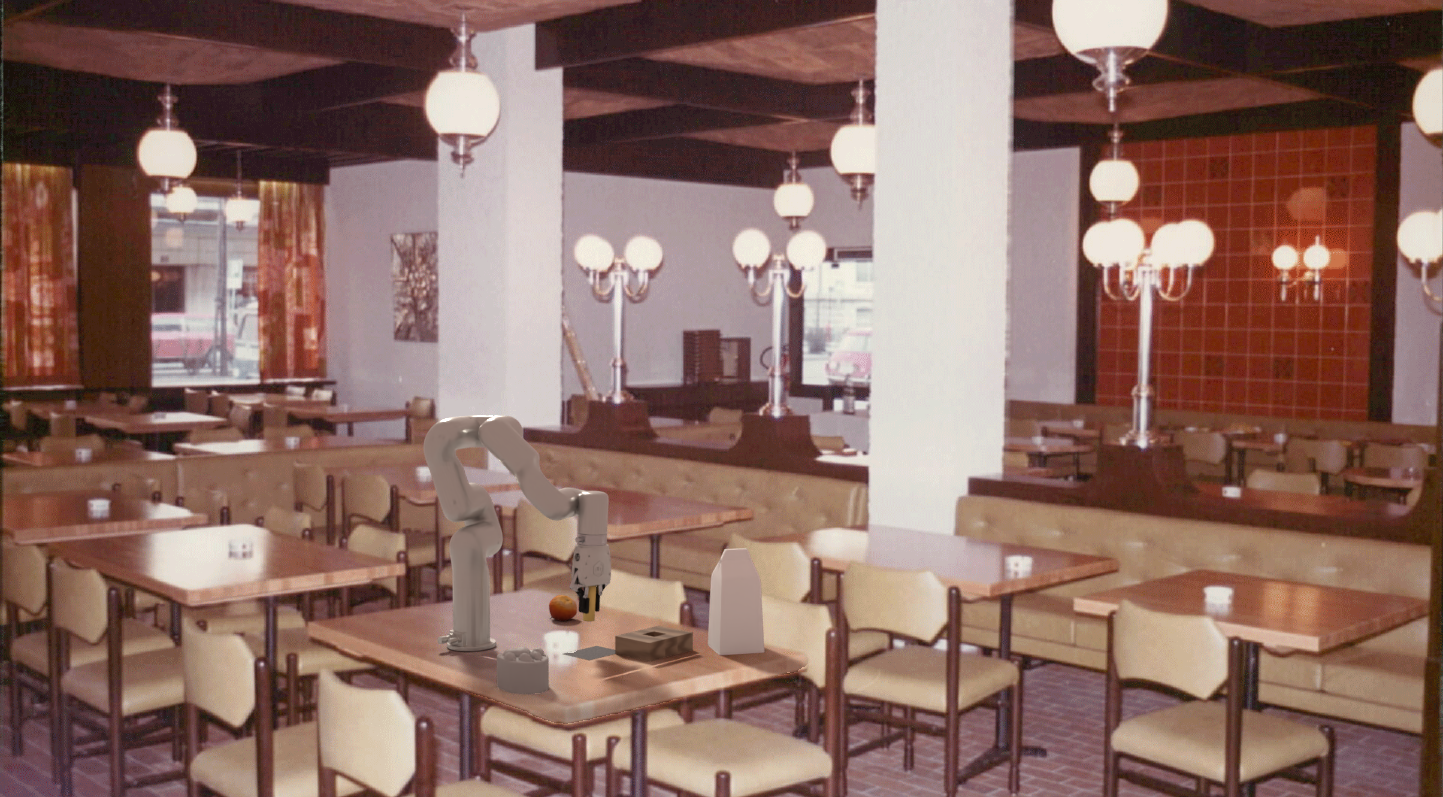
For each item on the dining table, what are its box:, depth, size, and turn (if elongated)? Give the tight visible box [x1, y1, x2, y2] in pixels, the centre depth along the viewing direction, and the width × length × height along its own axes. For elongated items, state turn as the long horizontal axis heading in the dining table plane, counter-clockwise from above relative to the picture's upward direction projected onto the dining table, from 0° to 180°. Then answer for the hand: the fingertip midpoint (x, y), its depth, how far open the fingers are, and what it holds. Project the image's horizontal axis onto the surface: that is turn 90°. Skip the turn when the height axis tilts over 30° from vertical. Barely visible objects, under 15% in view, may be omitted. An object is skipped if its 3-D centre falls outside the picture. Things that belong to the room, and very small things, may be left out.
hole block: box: [614, 625, 694, 663], centre depth 334 cm, size 16×12×5 cm
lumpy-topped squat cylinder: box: [496, 646, 550, 695], centre depth 300 cm, size 10×13×9 cm
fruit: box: [548, 594, 578, 622], centre depth 374 cm, size 8×8×8 cm
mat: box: [563, 645, 616, 661], centre depth 333 cm, size 12×10×1 cm
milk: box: [707, 547, 766, 656], centre depth 339 cm, size 12×12×26 cm
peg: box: [582, 586, 597, 623], centre depth 332 cm, size 3×3×10 cm
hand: (589, 611), depth 332 cm, fingers closed on peg, 3 cm apart
